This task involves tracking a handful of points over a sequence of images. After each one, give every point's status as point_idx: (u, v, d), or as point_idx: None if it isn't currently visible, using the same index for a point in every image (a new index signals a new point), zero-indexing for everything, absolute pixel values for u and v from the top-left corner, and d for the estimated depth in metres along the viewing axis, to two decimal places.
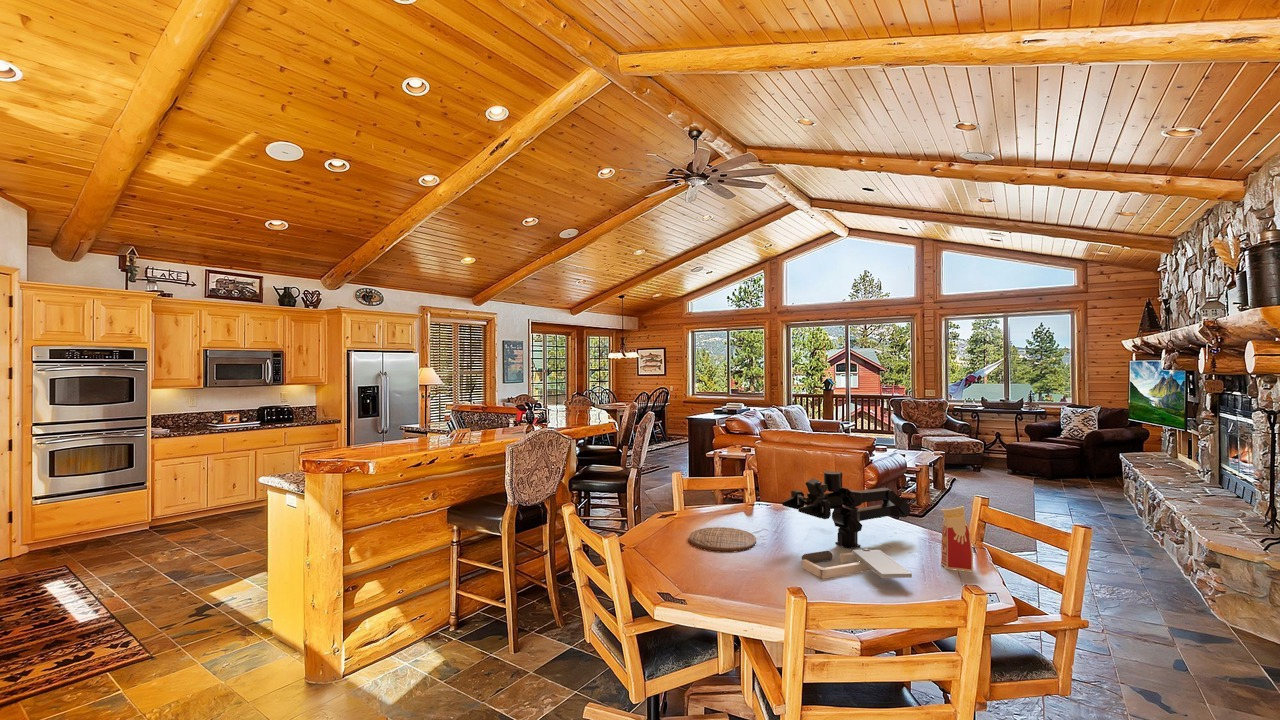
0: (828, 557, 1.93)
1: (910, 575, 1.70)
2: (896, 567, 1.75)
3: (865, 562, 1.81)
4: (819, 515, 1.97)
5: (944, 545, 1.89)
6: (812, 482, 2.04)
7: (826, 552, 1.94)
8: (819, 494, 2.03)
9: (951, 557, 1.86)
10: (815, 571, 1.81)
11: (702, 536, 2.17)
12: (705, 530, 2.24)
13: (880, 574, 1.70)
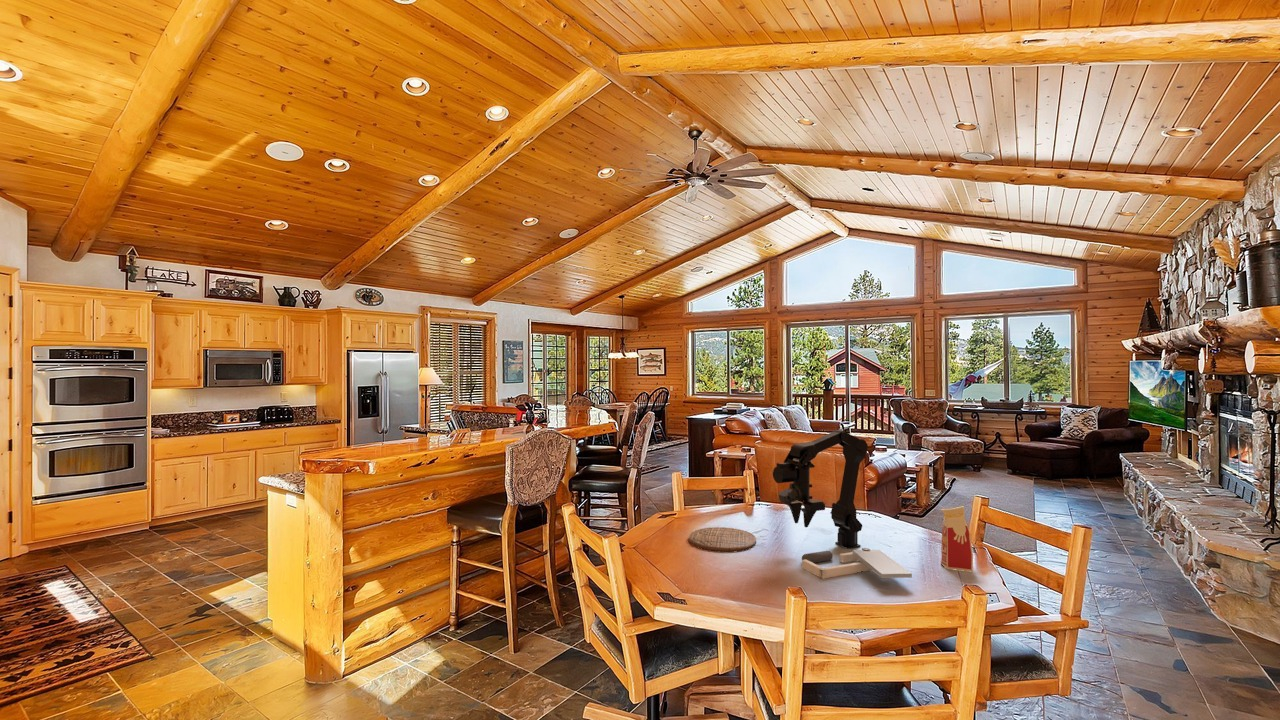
0: (828, 557, 1.93)
1: (910, 575, 1.70)
2: (896, 567, 1.75)
3: (865, 562, 1.81)
4: None
5: (944, 545, 1.89)
6: (784, 501, 1.98)
7: (826, 552, 1.94)
8: None
9: (951, 557, 1.86)
10: (815, 571, 1.81)
11: (702, 536, 2.17)
12: (705, 530, 2.24)
13: (880, 574, 1.70)
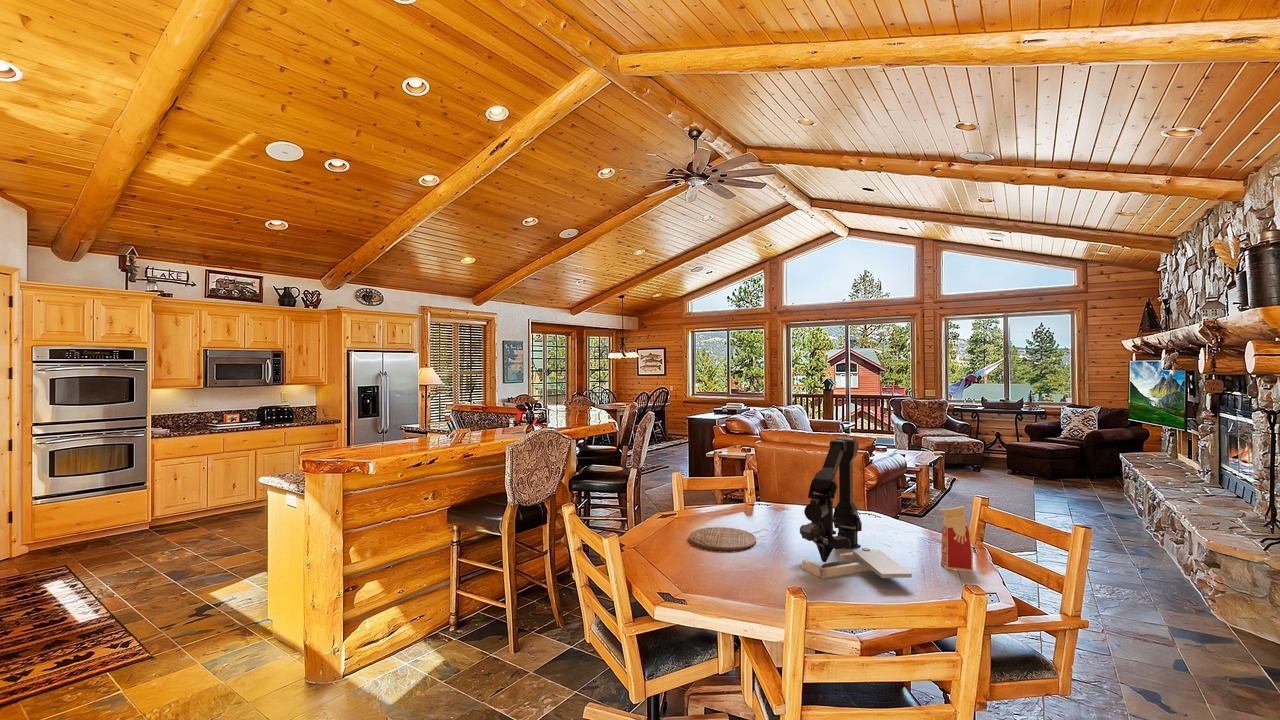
0: None
1: (910, 575, 1.70)
2: (896, 567, 1.75)
3: (865, 562, 1.81)
4: None
5: (944, 545, 1.89)
6: (806, 537, 1.87)
7: (847, 562, 1.85)
8: None
9: (951, 557, 1.86)
10: (815, 571, 1.81)
11: (702, 536, 2.17)
12: (705, 530, 2.24)
13: (880, 574, 1.70)
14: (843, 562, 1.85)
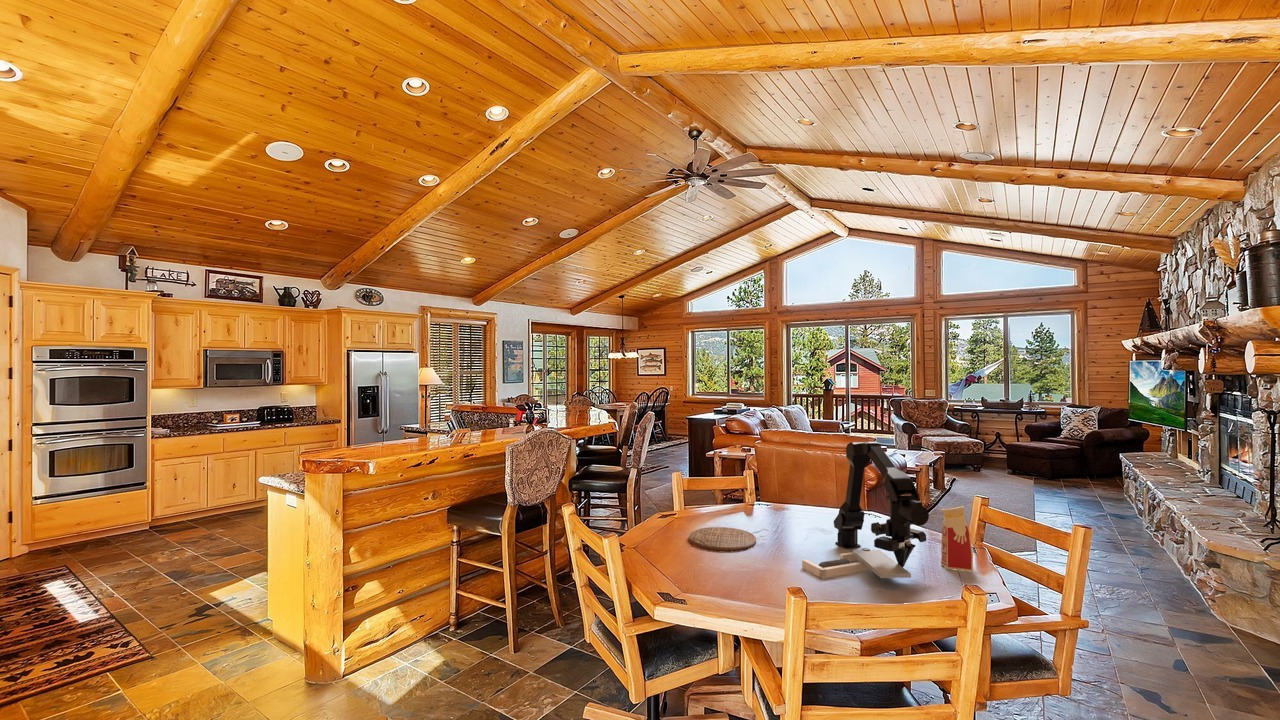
0: (844, 561, 1.86)
1: (909, 575, 1.70)
2: (895, 567, 1.74)
3: (865, 562, 1.81)
4: None
5: (944, 545, 1.89)
6: None
7: (841, 559, 1.87)
8: (884, 531, 1.80)
9: (951, 557, 1.86)
10: (815, 571, 1.81)
11: (702, 535, 2.17)
12: (706, 530, 2.25)
13: (879, 574, 1.71)
14: None
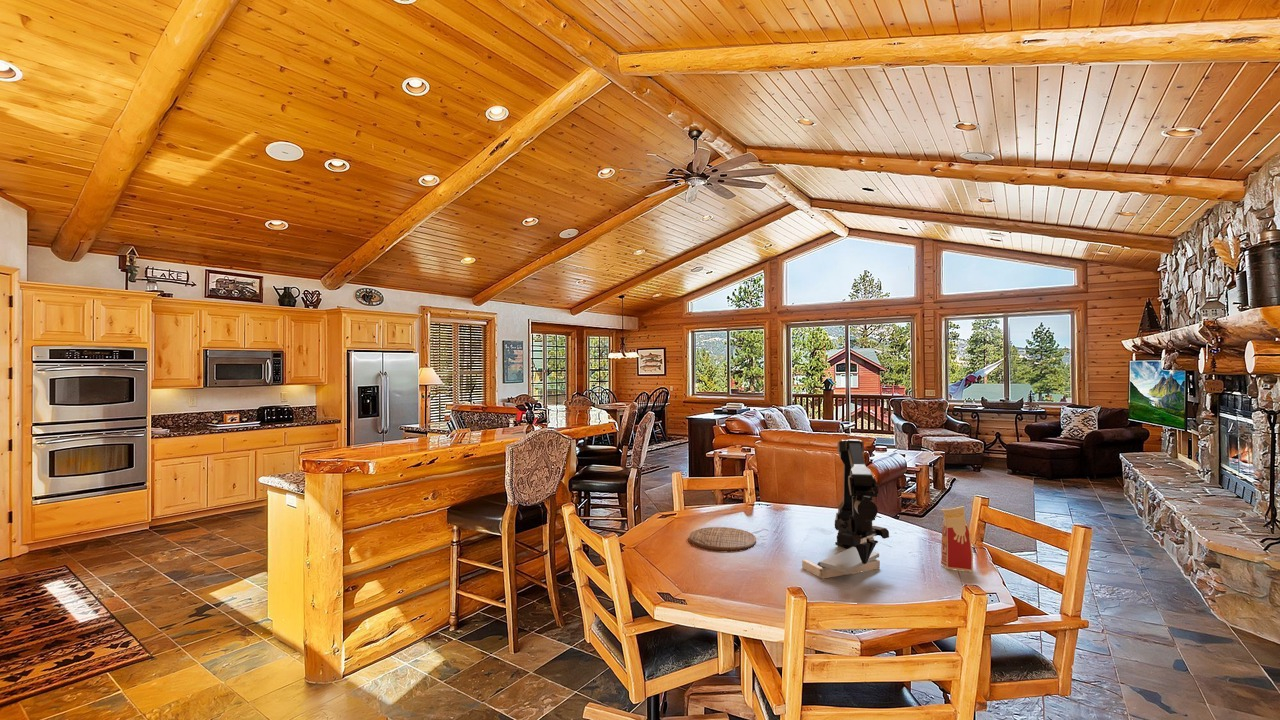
0: None
1: (845, 570, 1.74)
2: (847, 563, 1.78)
3: None
4: None
5: (944, 545, 1.89)
6: None
7: None
8: (847, 527, 1.82)
9: (951, 557, 1.86)
10: (815, 571, 1.81)
11: (702, 535, 2.17)
12: (706, 530, 2.25)
13: None
14: None
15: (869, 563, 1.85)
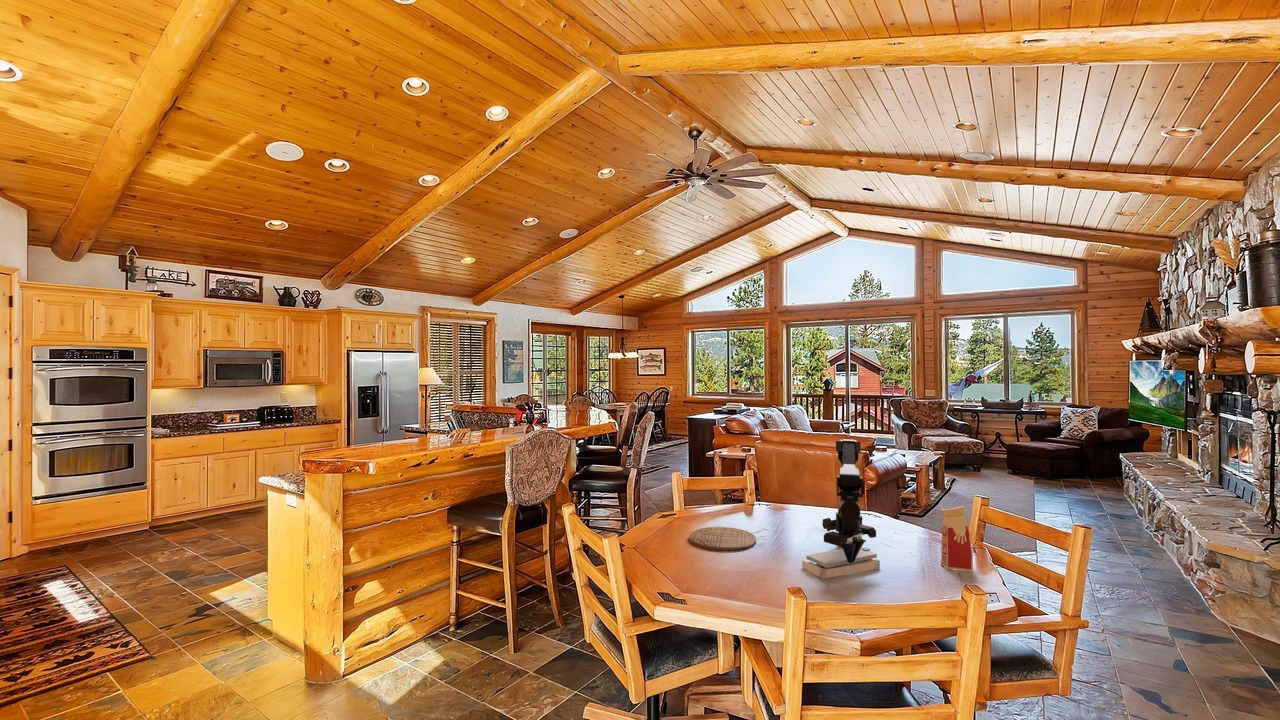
0: None
1: (825, 565, 1.78)
2: (832, 559, 1.82)
3: None
4: None
5: (944, 545, 1.89)
6: None
7: None
8: (835, 527, 1.83)
9: (951, 557, 1.86)
10: (815, 571, 1.81)
11: (702, 535, 2.17)
12: (706, 530, 2.25)
13: None
14: None
15: (869, 563, 1.85)
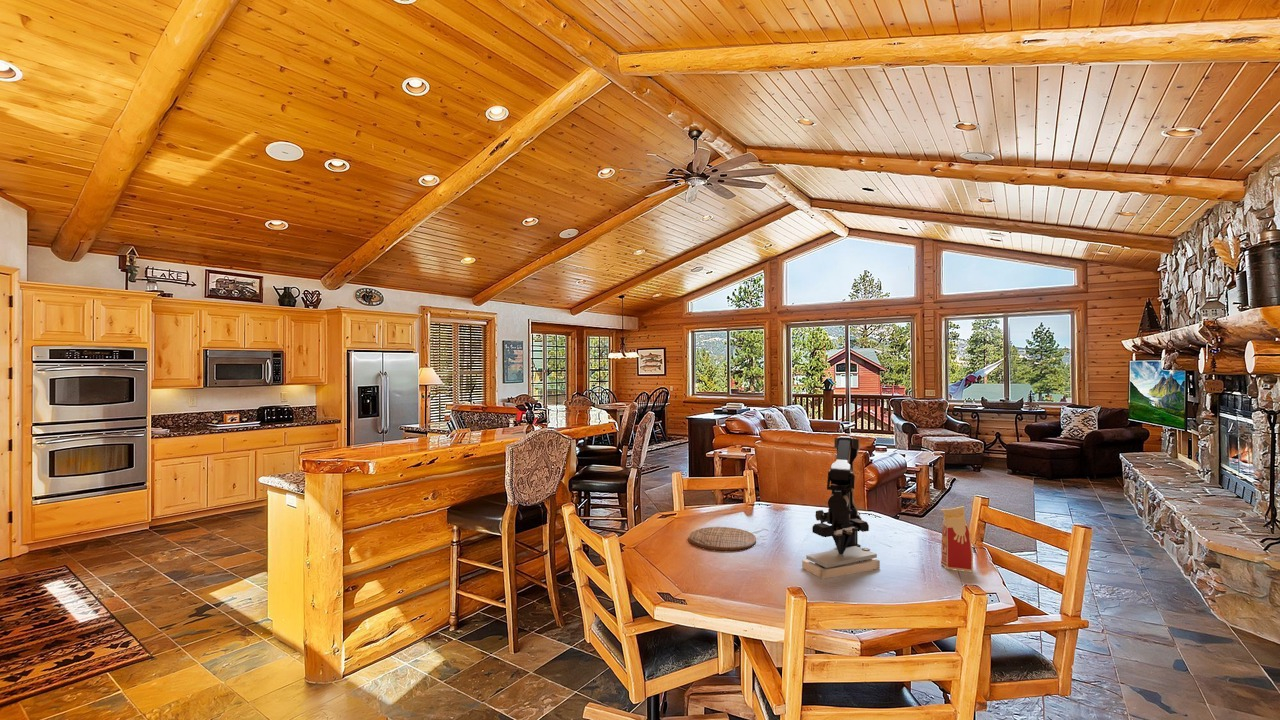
0: None
1: (825, 565, 1.78)
2: (832, 559, 1.82)
3: None
4: None
5: (944, 545, 1.89)
6: None
7: None
8: (826, 519, 1.90)
9: (951, 557, 1.86)
10: (815, 571, 1.81)
11: (702, 535, 2.17)
12: (706, 530, 2.25)
13: None
14: None
15: (869, 563, 1.85)
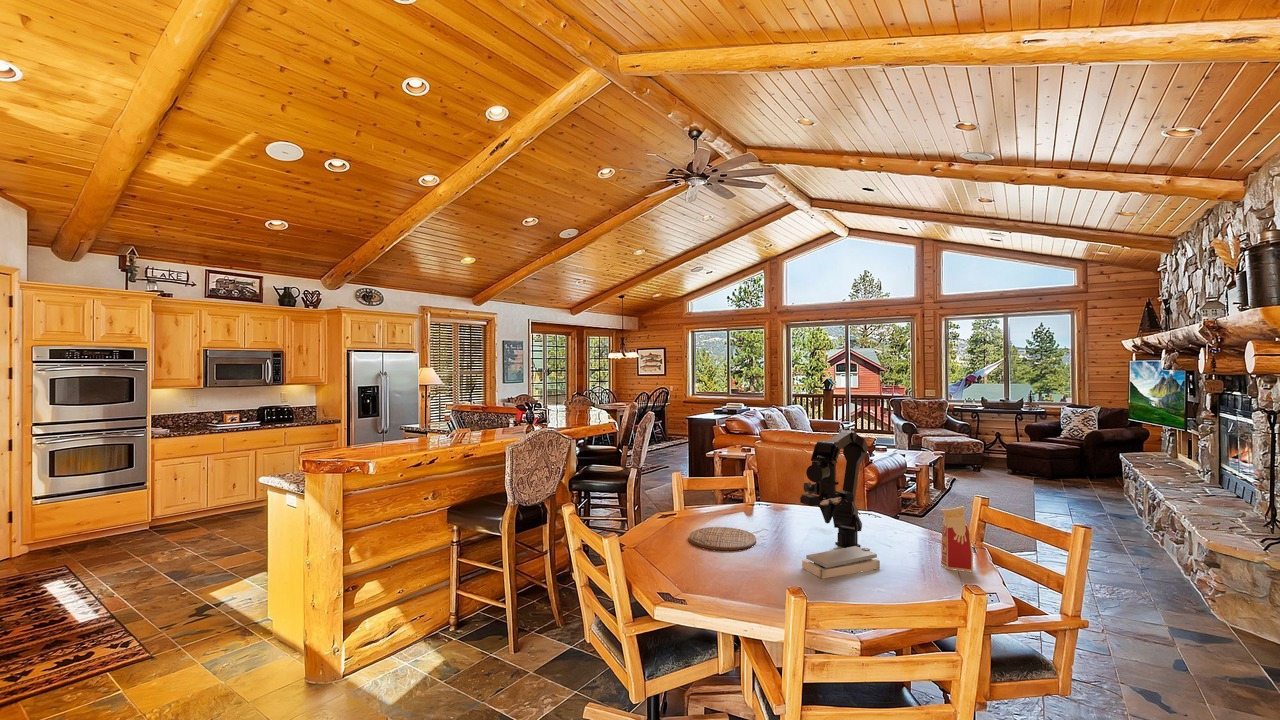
0: None
1: (825, 565, 1.78)
2: (832, 559, 1.82)
3: None
4: None
5: (944, 545, 1.89)
6: None
7: None
8: (814, 490, 2.00)
9: (951, 557, 1.86)
10: (815, 571, 1.81)
11: (702, 535, 2.17)
12: (706, 529, 2.25)
13: None
14: None
15: (869, 563, 1.85)
